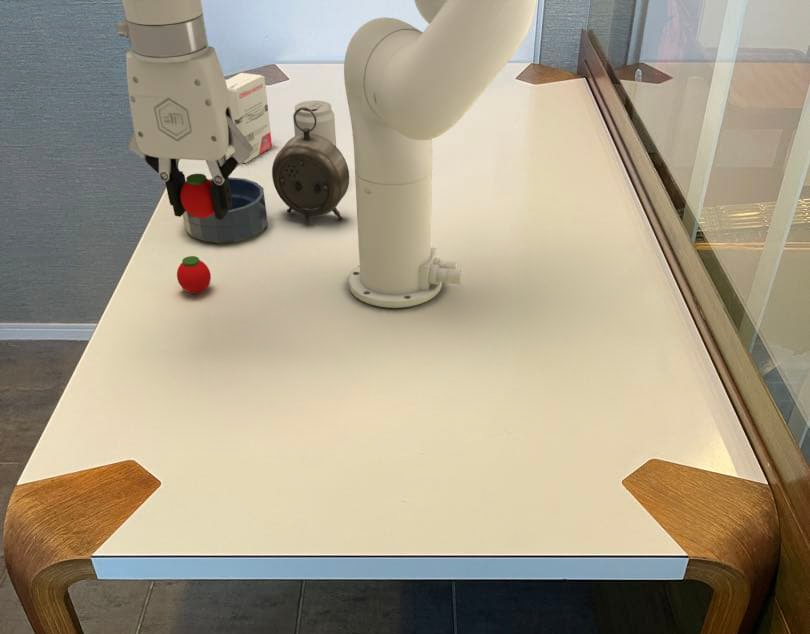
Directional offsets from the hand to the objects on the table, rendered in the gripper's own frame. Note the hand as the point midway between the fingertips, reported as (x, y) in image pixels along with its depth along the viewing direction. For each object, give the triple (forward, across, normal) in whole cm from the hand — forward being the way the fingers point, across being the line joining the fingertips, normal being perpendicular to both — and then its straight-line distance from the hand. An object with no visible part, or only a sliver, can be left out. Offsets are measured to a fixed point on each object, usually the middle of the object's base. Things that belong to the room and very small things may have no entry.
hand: (202, 211), depth 99 cm
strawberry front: (+1, 0, 0) cm, 1 cm away
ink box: (+15, -16, +55) cm, 59 cm away
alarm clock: (+15, +3, +31) cm, 35 cm away
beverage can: (+16, 0, +44) cm, 47 cm away
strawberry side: (+15, -7, +8) cm, 18 cm away
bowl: (+15, -9, +27) cm, 32 cm away
